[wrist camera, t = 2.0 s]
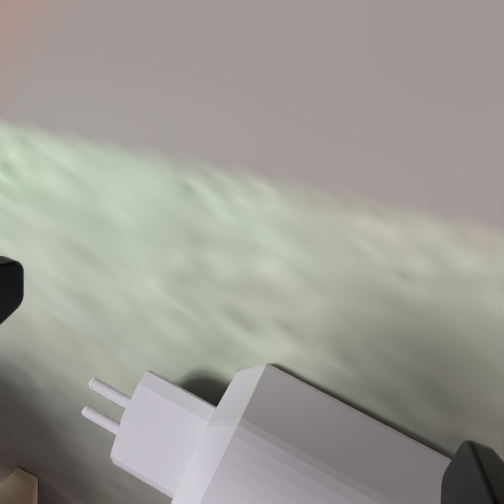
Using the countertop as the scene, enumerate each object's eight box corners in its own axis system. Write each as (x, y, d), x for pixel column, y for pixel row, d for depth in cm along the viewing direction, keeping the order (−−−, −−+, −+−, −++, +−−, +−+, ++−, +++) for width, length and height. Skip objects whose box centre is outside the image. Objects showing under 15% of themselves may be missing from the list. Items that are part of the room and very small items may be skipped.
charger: (142, 286, 18) (476, 459, 16) (102, 426, 22) (366, 579, 20) (66, 344, 14) (504, 587, 12) (34, 504, 18) (358, 708, 16)
